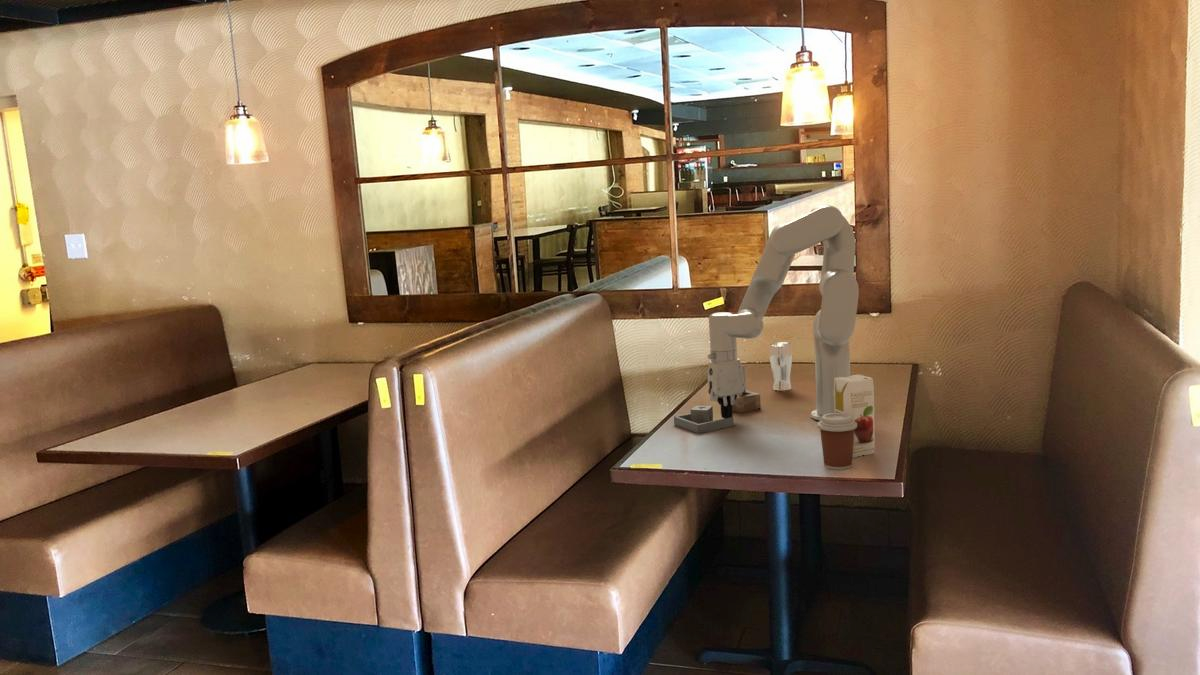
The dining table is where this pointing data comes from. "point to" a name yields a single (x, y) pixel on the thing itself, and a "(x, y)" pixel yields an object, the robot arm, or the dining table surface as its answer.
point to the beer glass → (781, 365)
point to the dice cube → (702, 414)
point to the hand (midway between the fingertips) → (727, 418)
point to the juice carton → (857, 409)
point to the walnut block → (747, 402)
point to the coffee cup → (837, 440)
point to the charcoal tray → (686, 423)
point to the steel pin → (744, 381)
